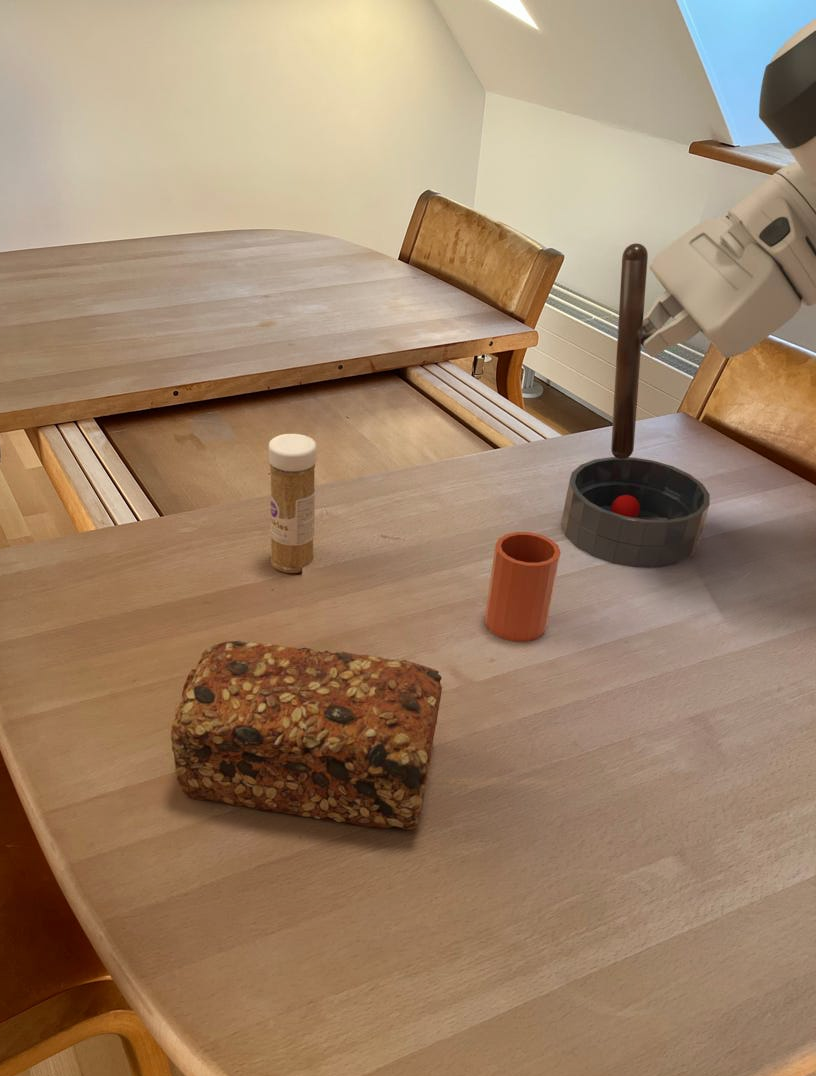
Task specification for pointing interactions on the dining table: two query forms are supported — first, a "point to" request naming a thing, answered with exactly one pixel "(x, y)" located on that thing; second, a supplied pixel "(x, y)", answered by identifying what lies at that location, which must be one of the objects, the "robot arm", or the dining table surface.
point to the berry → (626, 506)
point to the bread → (308, 732)
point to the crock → (521, 586)
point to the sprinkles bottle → (292, 501)
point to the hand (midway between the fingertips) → (641, 343)
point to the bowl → (635, 538)
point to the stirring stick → (628, 349)
